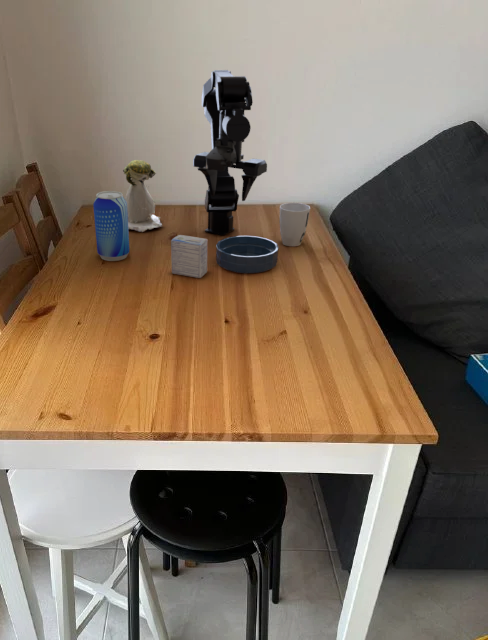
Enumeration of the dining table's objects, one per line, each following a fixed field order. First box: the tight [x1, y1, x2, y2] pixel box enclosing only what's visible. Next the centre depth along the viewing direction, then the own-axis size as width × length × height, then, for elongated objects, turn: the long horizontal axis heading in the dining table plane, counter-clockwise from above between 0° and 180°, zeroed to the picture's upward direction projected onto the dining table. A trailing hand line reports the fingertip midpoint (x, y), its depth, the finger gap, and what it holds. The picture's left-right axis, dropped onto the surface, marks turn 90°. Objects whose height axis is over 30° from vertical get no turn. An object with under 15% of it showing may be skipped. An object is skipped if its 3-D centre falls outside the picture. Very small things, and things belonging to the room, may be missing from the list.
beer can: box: [92, 190, 131, 262], centre depth 151 cm, size 8×8×16 cm
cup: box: [278, 202, 311, 247], centre depth 161 cm, size 8×8×10 cm
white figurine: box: [122, 159, 163, 233], centre depth 172 cm, size 12×13×18 cm
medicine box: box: [170, 234, 208, 279], centre depth 143 cm, size 8×4×9 cm, turn 65°
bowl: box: [215, 235, 280, 274], centre depth 150 cm, size 16×16×4 cm
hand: (228, 198), depth 155 cm, fingers open, 9 cm apart
